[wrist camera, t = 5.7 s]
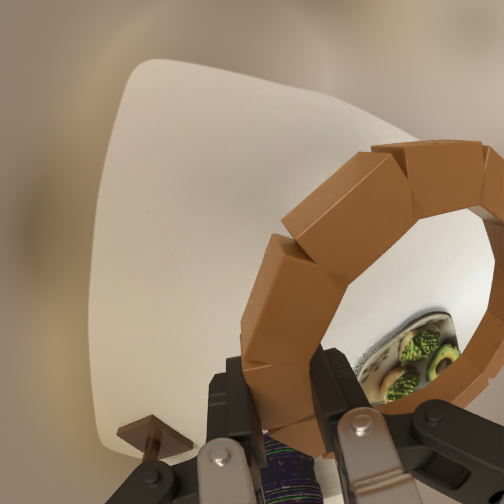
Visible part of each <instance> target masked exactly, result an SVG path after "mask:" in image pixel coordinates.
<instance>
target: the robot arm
mask: <svg viewBox="0 0 504 504" xmlns="http://www.w3.org/2000/svg"><path fill="white" fill-rule="evenodd" d="M310 368H311V369H310V371H309V376H310V383H311V391H312V399H313V408H314V414H315V417H316V420H317V424H318V427H319V430H320V433H321V437H322V440H323V443H324V446H325V450H326V453H327V454H328V453H331V452H334V454H335V457H336V460H337V470H338V475H339V480H340V485H341V490H342V495H343V501H344V504H423V503H422V499H421V497H420V494H419V490H418V488H417V485H416V482H415V479H417V480H419V481H420V482H422V483H424V484H426V485H428V486H429V487H431V488H433V489H435V490H437V491H439V492H441V493H442V494H445V495H446V496H448V497H450V498H452V499H454V500H456V501H458V502H460V503H462V504H504V427H503V426H501V425H499V424H497V423H494V422H492V421H489V420H487V419H485V418H482V417H480V416H478V415H476V414H473V413H471V412H469V411H467V410H464V409H462V408H460V407H458V406H455V405H453V404H451V403H449V402H447V401H444V400H441V399H430V400H427V401H424V402H423V403H421V404H420V405H418V406H417V408H416V409H415V410H414V412H413V413H405V414H397V415H388V414H383V413H381V412H379V411H377V410H376V409H374V408H373V407H372V406H371V404H370V403H369V401H368V399H367V397H366V395H365V393H364V391H363V389H362V387H361V385H360V383H359V381H358V379H357V377H356V375H355V374H354V372H353V370H352V368H351V366H350V364H349V362H348V360H347V358H346V356H345V355H344V354H343V353H342V352H340V351H339V350H337V349H336V348H331V349H328V350H323V348H322V346H321V343H320V344H319V346H318V348H317V350H316V352H315V354H314V355H313V357H312V359H311V361H310ZM208 396H209V398H208V415H207V439H206V444H205V445H203V446H202V447H201V449H200V450H199V452H198V455H197V456H196V457H194V458H192V459H190V460H188V461H185V462H182V463H179V464H176V465H172V466H169V465H168V464H167V463H165V462H163V461H160V460H150V461H146V462H144V463H142V464H140V465H139V466H138V467H137V468H136V469H135V470H134V471H133V472H132V473H131V475H130V476H129V477H128V478H127V479H126V480H125V482H124V483H123V484H122V485H121V486H120V487H119V488H118V490H117V491H116V492H115V493H114V494H113V495H112V496H111V497H110V499H109V500H108V501H107V502H106V503H105V504H266V500H265V496H264V492H263V487H262V484H261V475H260V468H263V467H267V462H266V455H265V447H264V440H263V432H262V425H261V421H260V418H259V416H258V413H257V410H256V407H255V404H254V401H253V398H252V395H251V392H250V389H249V386H248V384H247V383H246V380H245V377H244V374H243V371H242V358H241V356H237V357H232V358H227V359H226V372H225V373H219V374H215V375H214V377H213V379H212V380H211V382H210V384H209V394H208ZM414 478H415V479H414Z"/></svg>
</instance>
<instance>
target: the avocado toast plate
mask: <svg viewBox="0 0 504 504" xmlns="http://www.w3.org/2000/svg"><path fill="white" fill-rule="evenodd" d="M460 355H461V354H460V350H459V349H458V342H457V338H456V334H455V329H454V324H453V321H452V318H451V315H450V314H449V313H447V312H431V313H427V314H425V315H423V316H421V317H419V318H417V319H415V320H413V321H412V322H410V323H409V324H408V325H407V326H406V327H405V328H404V329H403V330H401V331H400V332H398V333H397V334H396V335H395V336H394V337H392V338H391V339H390V340H388V341H387V342H386V343H385V344H384V345H383V346H381V347H380V348H379V349H378V350H377V351H376V352H375V353H374V354H372V355H371V356H370V357H369V358H368V359H367V360H366V361H365V363H364V364H363V365H362V366H361V368H360V370H359V372H358V375H357V379H358V381H359V383H360V385H361V387H362V389H363V391H364V393H365V395H366V397H367V399H368V401H369V403H370V404H371V405H375V406H381V405H384V404H386V403H389V402H392V401H394V400H397V399H399V398H401V397H404V396H406V395H409V394H411V393H413V392H415V391H418V390H420V389H422V388H424V387H426V386H427V385H428V384H429V383H430V382H432V381H433V380H434V379H435V378H436V377H437V376H438V375H440V374H441V373H442V372H443V371H444V370H445V369H446V368H447V367H448V366H450V365H451V364H452V363H453V362H454V361H455V360H456V359H457V358H458V357H459V356H460Z"/></svg>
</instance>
